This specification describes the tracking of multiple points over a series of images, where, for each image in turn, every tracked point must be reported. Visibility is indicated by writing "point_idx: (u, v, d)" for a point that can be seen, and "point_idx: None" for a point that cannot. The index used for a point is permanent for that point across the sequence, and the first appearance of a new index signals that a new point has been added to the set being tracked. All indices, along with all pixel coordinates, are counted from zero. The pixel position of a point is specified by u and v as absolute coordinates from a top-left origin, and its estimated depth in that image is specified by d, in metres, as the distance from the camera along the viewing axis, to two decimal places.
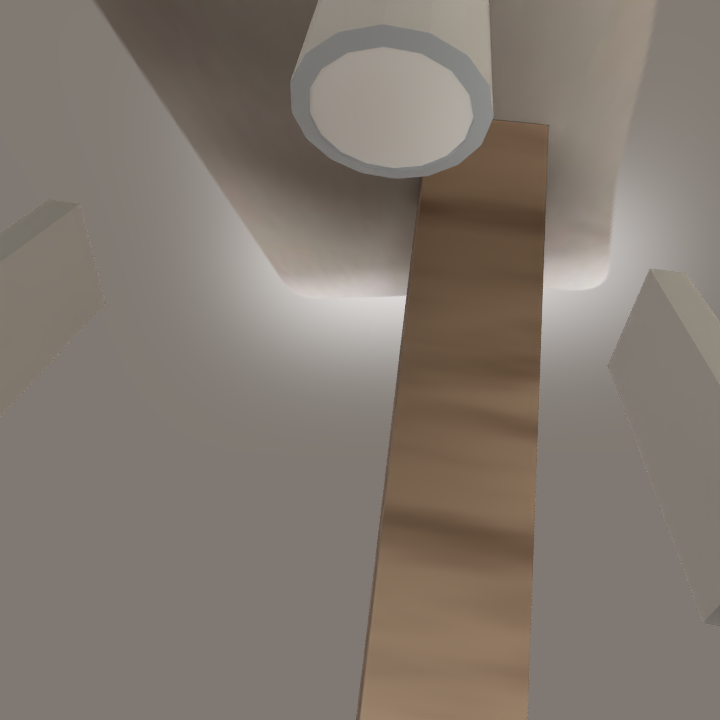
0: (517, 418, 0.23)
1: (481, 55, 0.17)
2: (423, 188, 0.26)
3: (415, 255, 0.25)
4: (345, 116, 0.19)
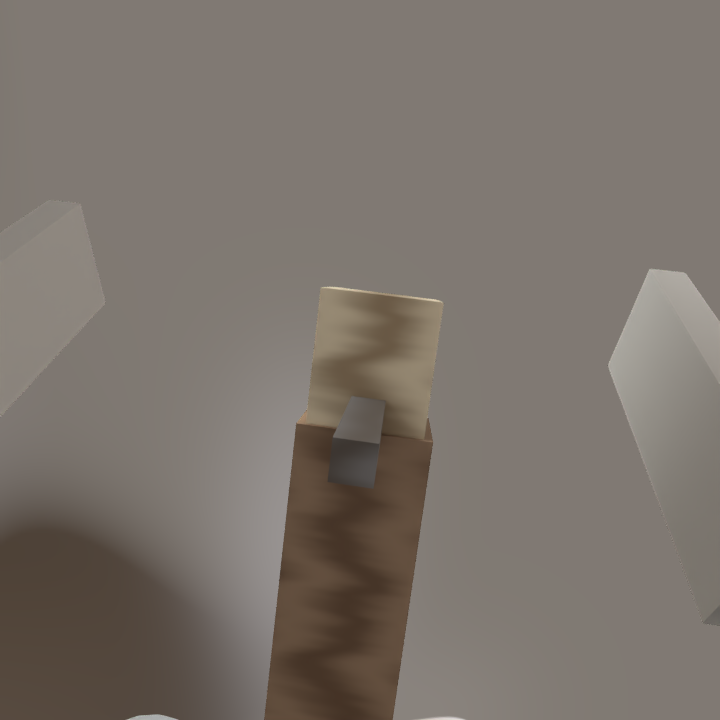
0: None
1: None
2: None
3: None
4: None
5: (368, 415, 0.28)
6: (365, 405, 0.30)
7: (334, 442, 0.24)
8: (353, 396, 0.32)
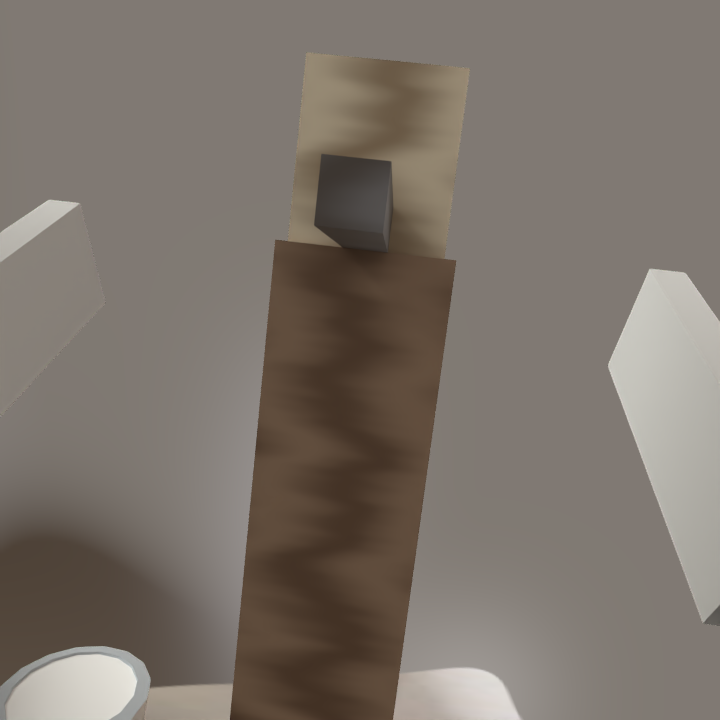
0: None
1: None
2: None
3: None
4: (60, 718, 0.25)
5: None
6: None
7: (324, 162, 0.16)
8: None
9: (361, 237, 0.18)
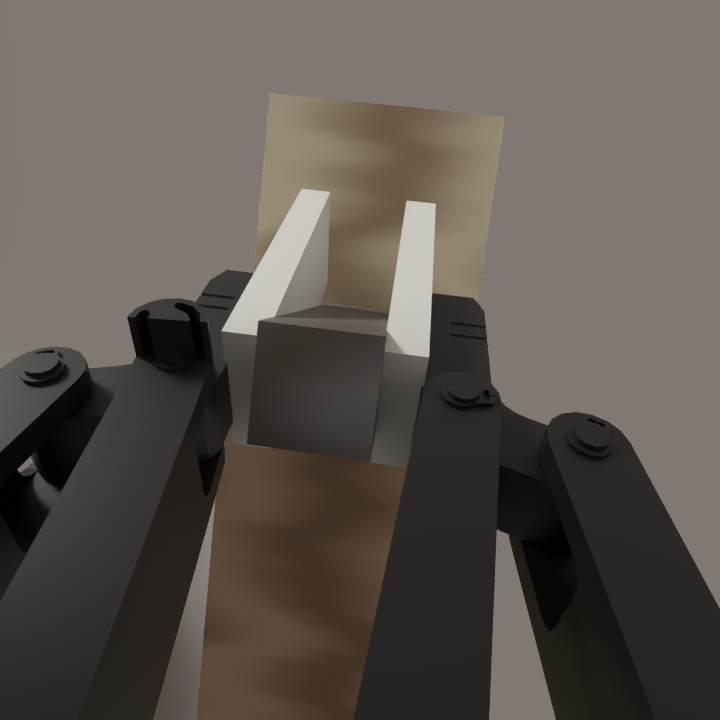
0: None
1: None
2: None
3: None
4: None
5: (359, 315, 0.13)
6: (354, 309, 0.15)
7: (263, 335, 0.09)
8: (333, 303, 0.17)
9: None
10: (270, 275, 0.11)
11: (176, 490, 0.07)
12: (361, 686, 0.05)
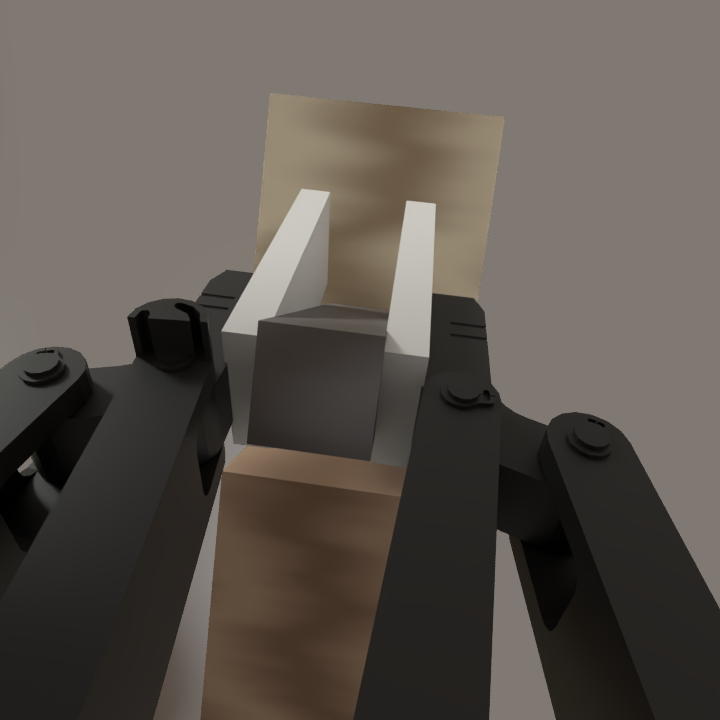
0: None
1: None
2: None
3: None
4: None
5: (359, 315, 0.13)
6: (354, 309, 0.15)
7: (263, 335, 0.09)
8: (333, 303, 0.17)
9: None
10: (270, 275, 0.11)
11: (176, 490, 0.07)
12: (361, 686, 0.05)
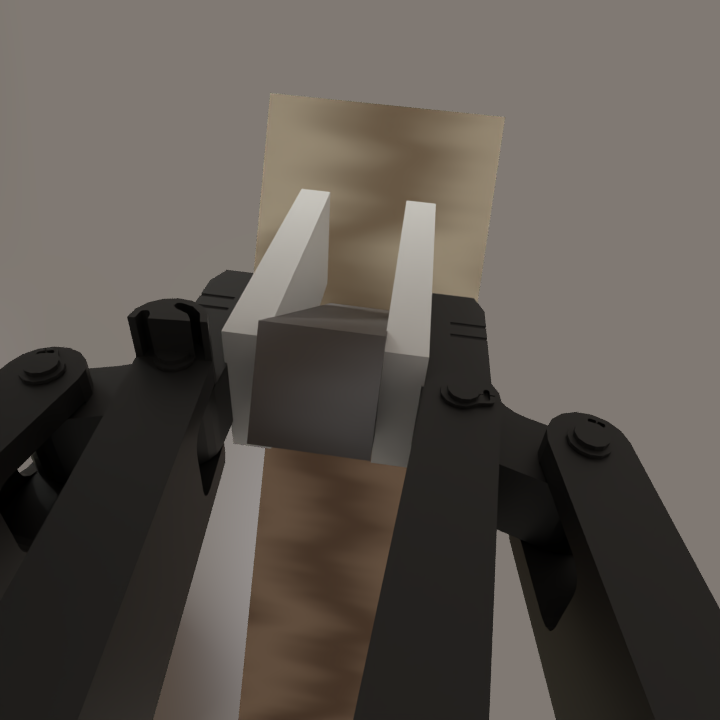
0: None
1: None
2: None
3: None
4: None
5: (359, 315, 0.13)
6: (355, 309, 0.15)
7: (263, 335, 0.09)
8: (333, 303, 0.17)
9: None
10: (270, 275, 0.11)
11: (176, 490, 0.07)
12: (361, 686, 0.05)
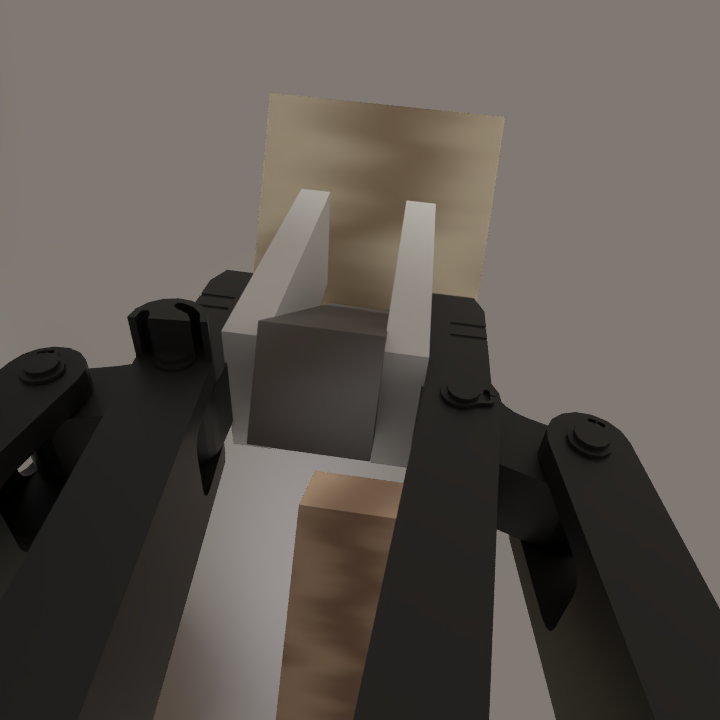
0: None
1: None
2: None
3: None
4: None
5: (359, 315, 0.13)
6: (354, 309, 0.15)
7: (263, 335, 0.09)
8: (333, 303, 0.17)
9: None
10: (270, 275, 0.11)
11: (176, 490, 0.07)
12: (361, 686, 0.05)
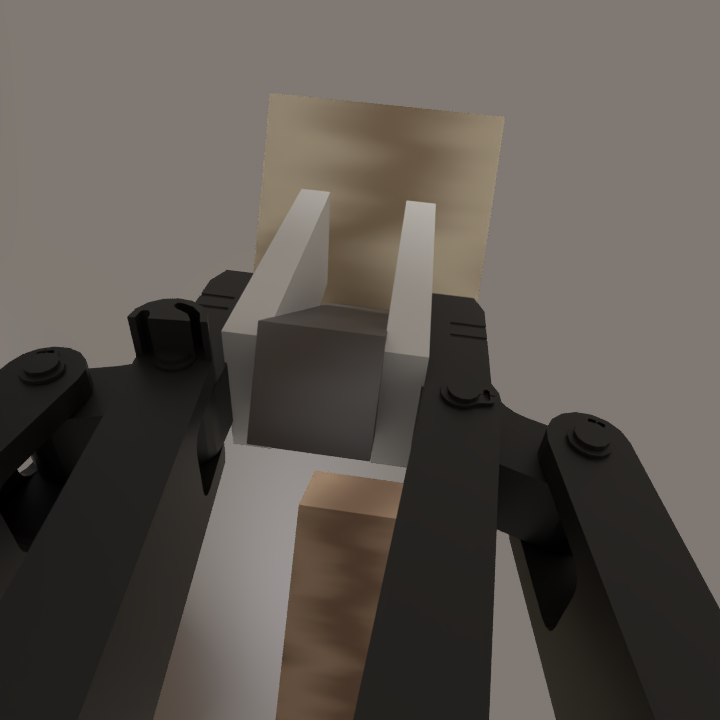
0: None
1: None
2: None
3: None
4: None
5: (359, 315, 0.13)
6: (354, 309, 0.15)
7: (263, 335, 0.09)
8: (333, 303, 0.17)
9: None
10: (270, 275, 0.11)
11: (176, 490, 0.07)
12: (361, 686, 0.05)
